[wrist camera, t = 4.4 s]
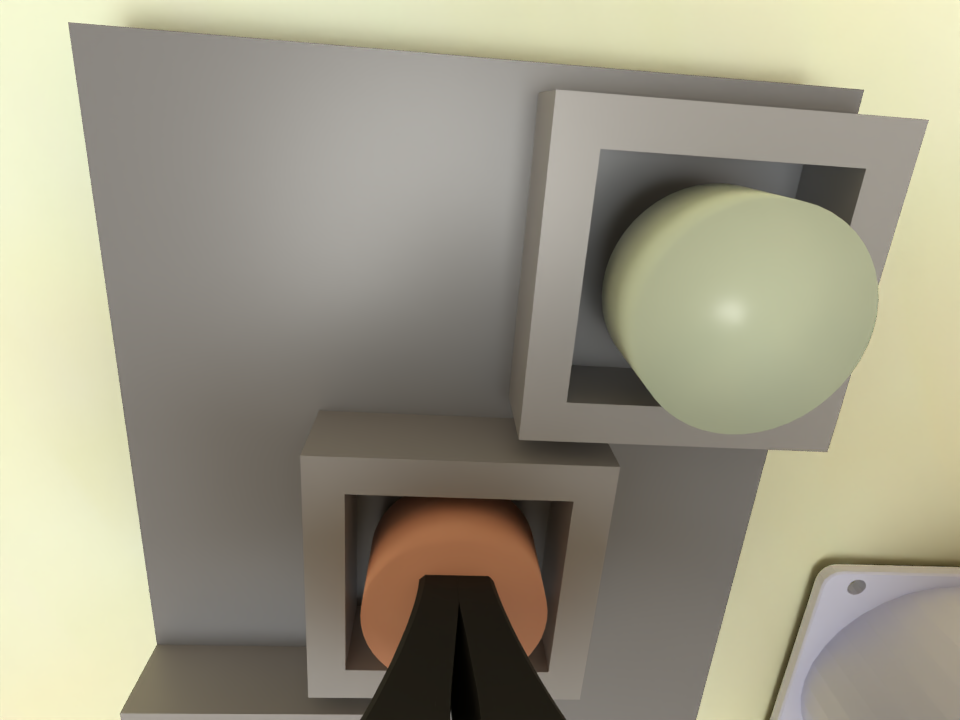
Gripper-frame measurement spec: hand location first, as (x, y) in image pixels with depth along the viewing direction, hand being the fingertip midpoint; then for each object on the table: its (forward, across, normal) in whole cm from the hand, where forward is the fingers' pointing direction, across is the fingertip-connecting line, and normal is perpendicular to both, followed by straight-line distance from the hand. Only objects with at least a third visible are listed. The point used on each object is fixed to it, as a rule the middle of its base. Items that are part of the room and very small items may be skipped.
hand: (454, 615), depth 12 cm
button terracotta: (+2, 0, 0) cm, 2 cm away
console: (+5, 0, 0) cm, 5 cm away
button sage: (+1, -4, -6) cm, 8 cm away
